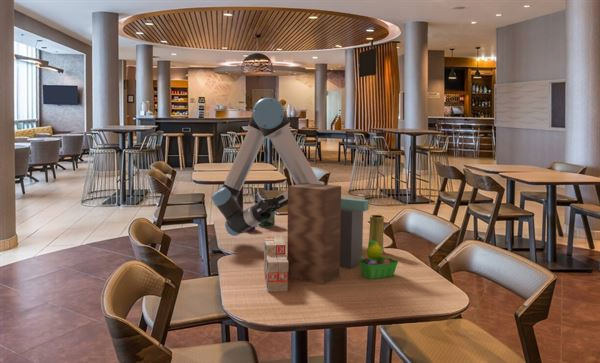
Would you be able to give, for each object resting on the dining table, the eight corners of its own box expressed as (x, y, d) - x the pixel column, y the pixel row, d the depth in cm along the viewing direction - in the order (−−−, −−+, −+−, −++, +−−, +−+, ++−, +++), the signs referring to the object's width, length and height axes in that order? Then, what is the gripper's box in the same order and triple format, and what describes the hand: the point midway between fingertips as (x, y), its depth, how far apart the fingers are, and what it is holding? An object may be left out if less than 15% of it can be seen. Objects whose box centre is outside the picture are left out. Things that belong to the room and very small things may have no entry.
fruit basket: (369, 280, 172) (369, 246, 171) (355, 273, 180) (356, 240, 179) (398, 276, 177) (400, 243, 175) (384, 269, 185) (385, 237, 183)
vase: (385, 251, 210) (386, 215, 208) (382, 254, 204) (383, 218, 202) (369, 249, 212) (370, 214, 210) (366, 253, 206) (367, 216, 204)
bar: (299, 204, 197) (299, 194, 197) (304, 202, 200) (304, 193, 200) (364, 211, 184) (364, 201, 183) (368, 209, 187) (368, 200, 186)
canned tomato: (277, 224, 258) (277, 202, 257) (270, 228, 251) (270, 204, 249) (262, 223, 261) (262, 201, 259) (255, 226, 253) (255, 203, 252)
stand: (287, 277, 175) (287, 186, 171) (303, 269, 184) (304, 182, 180) (324, 284, 168) (326, 189, 164) (339, 276, 176) (341, 186, 173)
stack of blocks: (288, 292, 161) (288, 252, 160) (267, 292, 160) (267, 252, 159) (282, 271, 182) (282, 235, 181) (263, 271, 181) (263, 236, 180)
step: (320, 263, 192) (321, 208, 189) (332, 257, 200) (333, 204, 197) (350, 268, 186) (352, 211, 183) (361, 262, 193) (363, 207, 191)
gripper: (278, 217, 218) (319, 196, 207) (242, 227, 199) (286, 204, 187) (271, 201, 220) (311, 178, 208) (235, 209, 200) (277, 185, 188)
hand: (299, 190), depth 198 cm, fingers open, 11 cm apart
